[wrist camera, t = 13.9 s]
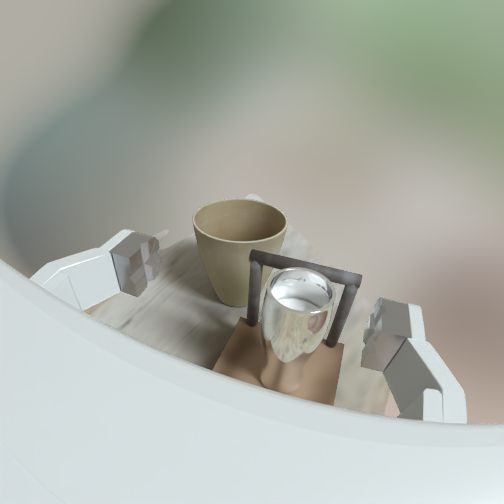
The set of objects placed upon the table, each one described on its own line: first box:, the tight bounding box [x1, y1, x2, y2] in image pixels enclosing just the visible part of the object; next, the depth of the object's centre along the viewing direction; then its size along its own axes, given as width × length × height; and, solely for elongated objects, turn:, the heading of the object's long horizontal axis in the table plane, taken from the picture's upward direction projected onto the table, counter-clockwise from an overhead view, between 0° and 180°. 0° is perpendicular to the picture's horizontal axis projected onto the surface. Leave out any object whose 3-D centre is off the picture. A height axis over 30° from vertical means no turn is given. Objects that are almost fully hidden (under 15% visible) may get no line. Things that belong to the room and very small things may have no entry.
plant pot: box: [193, 199, 288, 307], centre depth 50 cm, size 15×15×16 cm
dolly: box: [212, 249, 362, 406], centre depth 34 cm, size 16×13×17 cm
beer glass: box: [258, 267, 336, 393], centre depth 31 cm, size 7×7×15 cm
